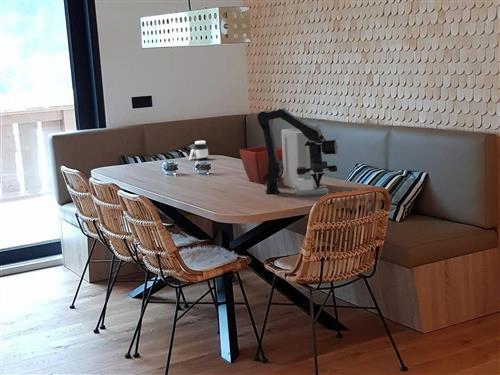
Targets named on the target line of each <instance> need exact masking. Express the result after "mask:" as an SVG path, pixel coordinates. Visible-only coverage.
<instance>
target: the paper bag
mask: <svg viewBox="0 0 500 375" xmlns="http://www.w3.org/2000/svg"><path fill="white" fill-rule="evenodd" d="M280 131H281V148H282V154H283V167H284V169H283V174H282V177H283V185H284V186H285V187H289V188H293V189H294V188H295V185H297V179H301V178H304V177H310V178H312V179H313V186H317V185H316V183H315V180H314V178H313V176H312V175H310V174H309V172H306V173H305V174H303V175H298V174H297V171H296V169H297V167H305V168H310V154H309V146H304V145H305V144H306V143H307V141H308V140H309V139H308V138H306V137H305V136H304V134H303V133H302V132H301V131H300V130H298V129H297V128H285V129H281V130H280ZM309 141H310V140H309ZM310 142H315V141H310ZM317 173H318V172H317ZM317 173H316V175H317Z"/></svg>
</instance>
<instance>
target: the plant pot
mask: <svg viewBox="0 0 500 375" xmlns="http://www.w3.org/2000/svg"><path fill="white" fill-rule="evenodd" d="M275 147H276V152H277V157H278V159H279V161H281V160H282V161H283V154H282V146H281V147H279V146H275ZM239 155H240V158H241V162H242V165H243V168H244V171H245V173H246V175H247V178H248V181H250V182H254V183H258V184H264V183H265V184H266V181H264V178H263V177H264V176H265V175H266V174H267V173H268V154H267V149H266V145H265V146H256V147H250V148H242V149H241V148H240V149H239ZM282 177H283V172H282V174H281V175H280V176H279V178H278V182H279V181H281V180H282Z"/></svg>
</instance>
